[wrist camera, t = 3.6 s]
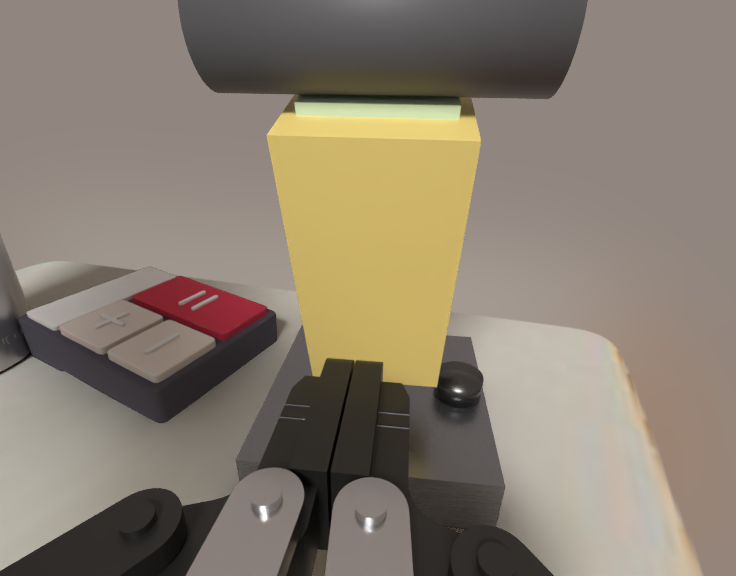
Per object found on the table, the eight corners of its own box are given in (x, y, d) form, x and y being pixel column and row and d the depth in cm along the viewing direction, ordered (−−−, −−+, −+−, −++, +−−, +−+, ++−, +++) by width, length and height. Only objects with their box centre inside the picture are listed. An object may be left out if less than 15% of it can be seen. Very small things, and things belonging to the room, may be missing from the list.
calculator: (152, 382, 23) (10, 307, 29) (164, 437, 25) (30, 356, 31) (278, 303, 32) (149, 258, 38) (280, 348, 34) (157, 299, 40)
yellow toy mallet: (279, 396, 21) (145, -45, 9) (301, 325, 25) (225, -60, 13) (472, 412, 20) (618, -52, 8) (465, 336, 24) (558, -66, 12)
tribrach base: (243, 504, 20) (232, 440, 18) (304, 359, 31) (300, 310, 29) (494, 531, 19) (509, 467, 17) (465, 372, 30) (472, 322, 28)
